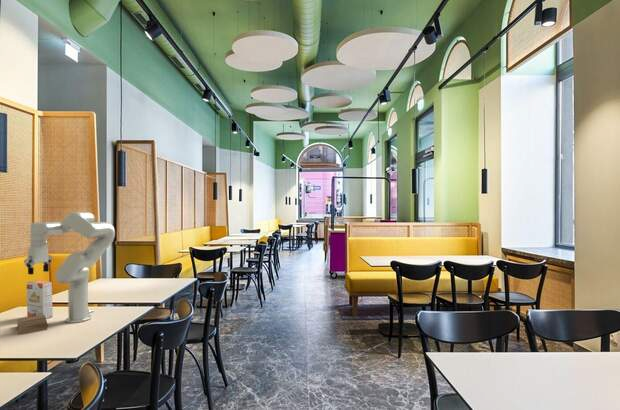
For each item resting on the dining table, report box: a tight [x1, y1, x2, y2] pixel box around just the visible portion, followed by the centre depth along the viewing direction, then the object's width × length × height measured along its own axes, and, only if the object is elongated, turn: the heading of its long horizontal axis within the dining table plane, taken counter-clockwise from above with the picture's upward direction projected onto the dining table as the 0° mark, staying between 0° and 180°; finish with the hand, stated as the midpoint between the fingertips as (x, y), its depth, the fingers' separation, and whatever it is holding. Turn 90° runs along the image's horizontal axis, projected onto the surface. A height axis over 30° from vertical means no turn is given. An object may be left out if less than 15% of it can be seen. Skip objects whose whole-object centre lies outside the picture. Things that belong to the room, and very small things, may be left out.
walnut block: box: [17, 315, 48, 335], centre depth 206 cm, size 18×12×4 cm, turn 38°
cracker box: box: [26, 280, 54, 320], centre depth 226 cm, size 14×6×21 cm, turn 68°
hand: (38, 272), depth 226 cm, fingers open, 9 cm apart
